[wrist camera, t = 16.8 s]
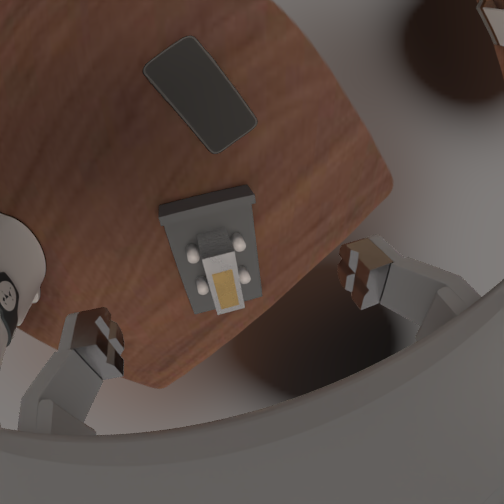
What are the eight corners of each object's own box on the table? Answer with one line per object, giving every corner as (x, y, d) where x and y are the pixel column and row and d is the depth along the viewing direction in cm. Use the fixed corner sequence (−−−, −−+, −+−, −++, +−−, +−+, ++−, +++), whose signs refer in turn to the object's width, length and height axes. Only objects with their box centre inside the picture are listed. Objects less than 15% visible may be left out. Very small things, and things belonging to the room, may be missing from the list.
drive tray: (193, 309, 46) (196, 325, 43) (159, 205, 34) (158, 218, 31) (260, 291, 48) (266, 306, 45) (247, 184, 36) (254, 194, 33)
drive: (196, 234, 37) (202, 260, 32) (224, 227, 37) (234, 251, 32) (210, 287, 43) (217, 315, 38) (235, 281, 43) (245, 308, 38)
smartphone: (214, 158, 32) (138, 69, 23) (213, 156, 33) (139, 69, 24) (261, 123, 31) (191, 31, 22) (259, 122, 32) (190, 32, 23)
